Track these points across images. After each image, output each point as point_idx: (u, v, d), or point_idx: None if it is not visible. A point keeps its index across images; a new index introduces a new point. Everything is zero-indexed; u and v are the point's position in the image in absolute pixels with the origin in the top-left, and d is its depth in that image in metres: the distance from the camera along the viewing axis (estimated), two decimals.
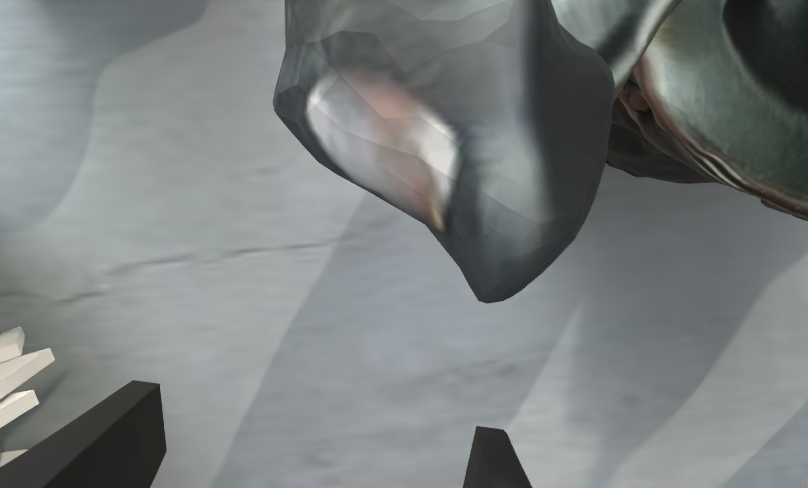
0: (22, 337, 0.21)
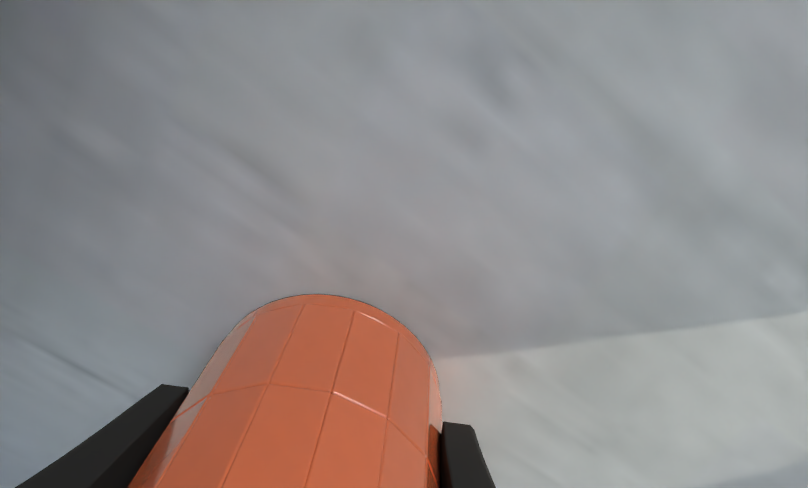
0: None
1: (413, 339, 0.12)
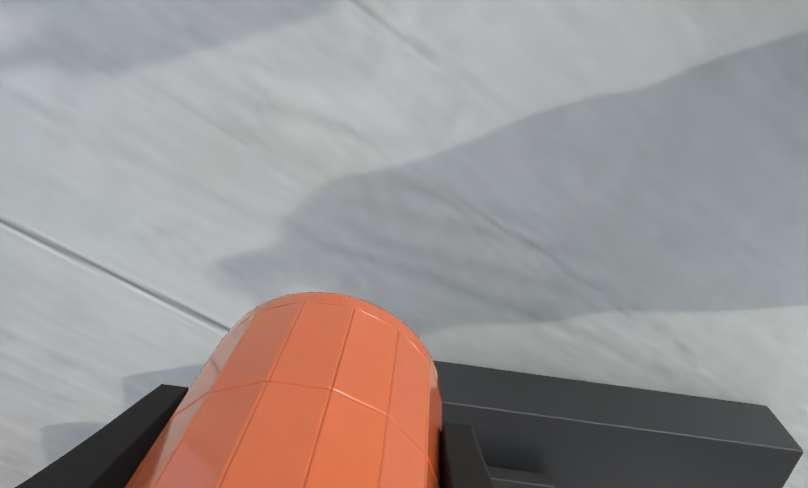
0: None
1: (413, 337, 0.12)
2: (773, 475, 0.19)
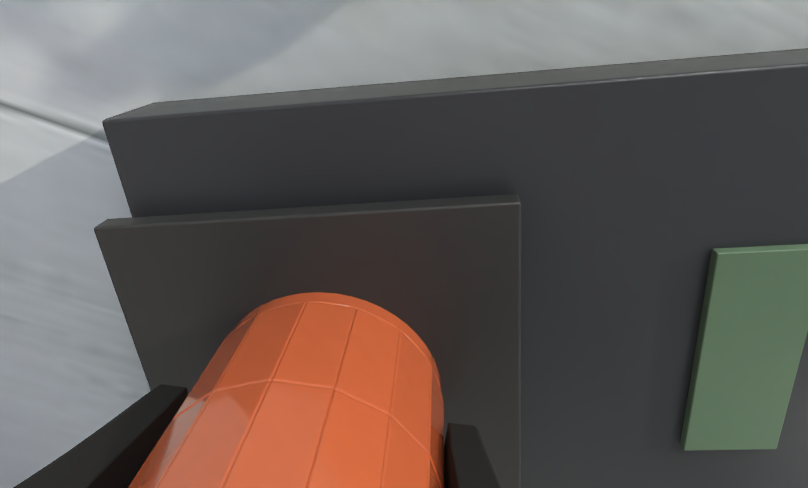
0: None
1: (415, 336, 0.12)
2: None
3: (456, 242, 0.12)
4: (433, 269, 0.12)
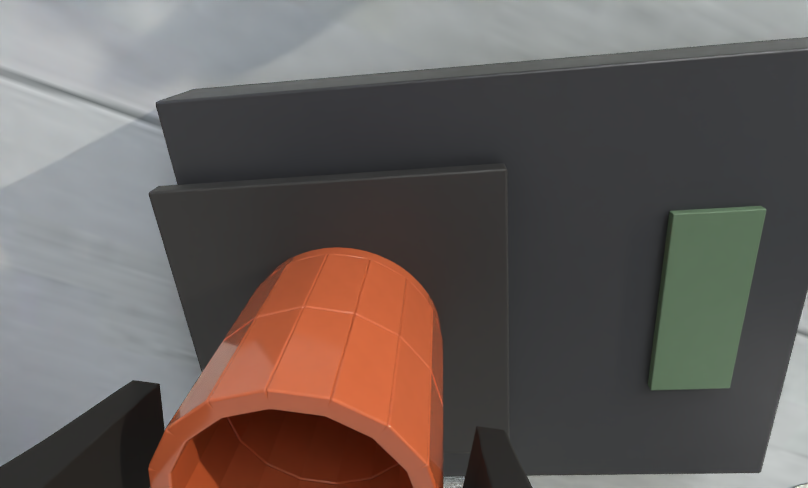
0: None
1: (419, 285, 0.15)
2: None
3: (453, 203, 0.14)
4: (434, 227, 0.14)
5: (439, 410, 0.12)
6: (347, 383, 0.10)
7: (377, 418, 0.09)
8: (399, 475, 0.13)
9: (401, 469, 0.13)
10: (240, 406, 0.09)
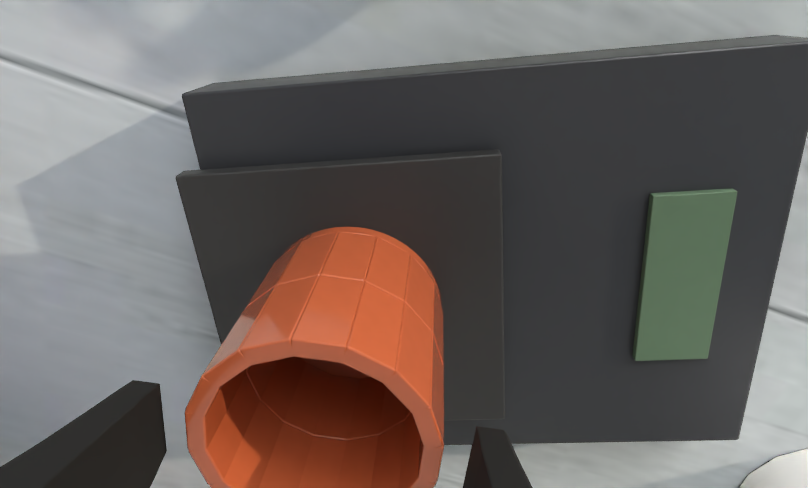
0: None
1: (421, 261, 0.16)
2: (794, 92, 0.15)
3: (453, 186, 0.15)
4: (435, 207, 0.15)
5: (440, 368, 0.13)
6: (360, 335, 0.11)
7: (386, 365, 0.11)
8: (404, 429, 0.14)
9: (405, 424, 0.14)
10: (267, 354, 0.11)
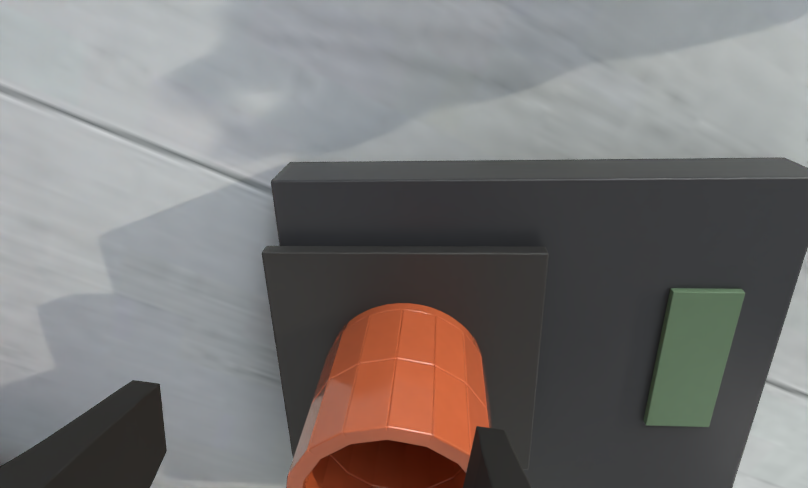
0: None
1: (471, 336, 0.18)
2: (799, 216, 0.17)
3: (504, 276, 0.18)
4: (487, 292, 0.18)
5: None
6: (440, 423, 0.13)
7: (462, 450, 0.13)
8: (454, 487, 0.17)
9: (455, 482, 0.17)
10: (366, 437, 0.13)
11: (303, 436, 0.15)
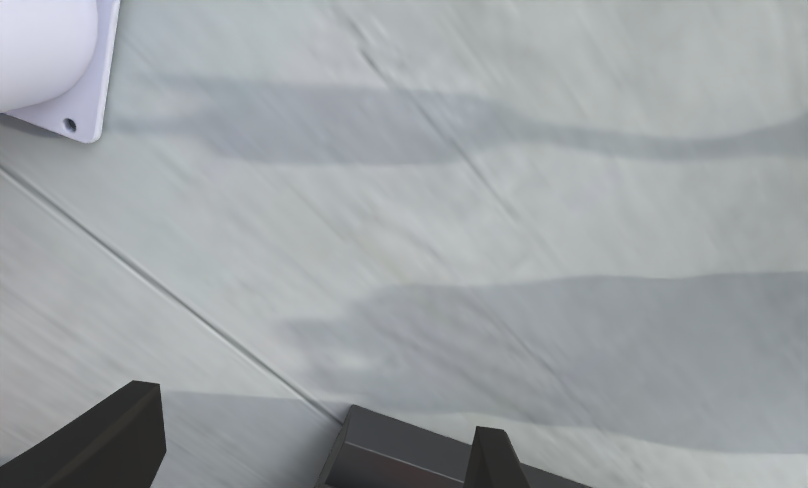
0: None
1: None
2: None
3: None
4: None
5: None
6: None
7: None
8: None
9: None
10: None
11: None
